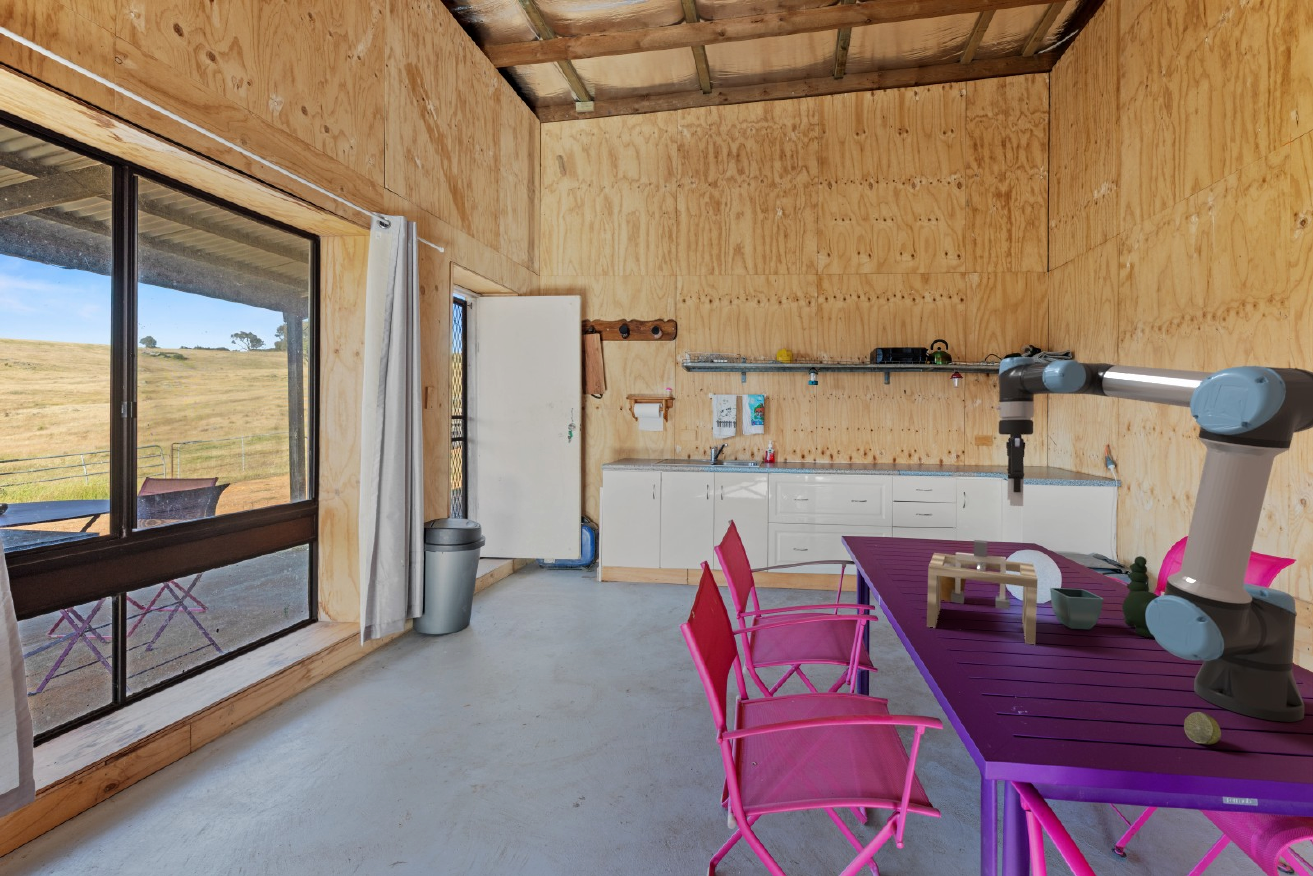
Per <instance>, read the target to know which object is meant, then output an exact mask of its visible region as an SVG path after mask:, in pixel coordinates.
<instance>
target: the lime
mask: <svg viewBox="0 0 1313 876" xmlns="http://www.w3.org/2000/svg"><path fill="white" fill-rule="evenodd" d="M1183 730H1184V732H1185V734H1186V736H1187V738H1188V739H1189V740H1190V741H1191V742H1194V744H1195V743H1196V744H1201V745H1213V744H1216V743H1218V741H1220V739H1221V737H1222V730H1221V728H1220V725H1219V723H1218V722H1217V721H1216V720H1215V718H1213V717H1212V716H1210V715H1209V714H1207V713H1206V712H1202V711H1196V712H1191V713H1190V714H1189V715H1187V717H1185V719H1184V724H1183Z"/></svg>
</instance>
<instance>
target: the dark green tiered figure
mask: <svg viewBox="0 0 1313 876" xmlns="http://www.w3.org/2000/svg"><path fill="white" fill-rule="evenodd" d="M1133 562H1134V563H1132V564H1130V565H1129V568H1130V571H1131V572H1129V573H1127V577H1128V579H1130V581H1129V583H1128V584H1127V585H1126V588H1127V589H1129V592H1128V594H1127V596H1126V597H1125V598H1124V600H1123V601H1122V602H1123V603H1122V607H1121V608H1122V613H1123V615H1124V618H1123V620H1124V623H1125V625H1127V626H1128V627H1134V631H1135V633H1136V634H1137V635H1138V636H1141V637H1143V636H1144V637H1143V638H1148V637H1149V638H1150V637H1151V638H1155V637H1154V636H1153V634H1151V633H1150V631H1149V629H1148V627H1147V623H1146V618H1145V614H1146V609H1147V606H1148V605H1149V603H1150V602H1151V601H1152V600H1154V599H1156V598H1158V597H1159V596H1160V595H1158V594H1156V593H1153V592H1151V591H1149V590H1150V588H1149V585H1148V584H1147V582H1148V581H1149V579H1150V578H1149V576H1148V574H1147V573H1148V567H1147V566H1146V565H1147V558H1146V557H1144V556H1141V555H1140V556H1139V555H1138V556H1137V557H1135V558H1134V561H1133Z"/></svg>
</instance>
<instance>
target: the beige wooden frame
mask: <svg viewBox="0 0 1313 876" xmlns="http://www.w3.org/2000/svg"><path fill="white" fill-rule="evenodd" d="M945 563H946V564H955V565H956V554H949V553H939V552H937V553H936V552H934V553H933V555H932V557H931V560H930V562H929V564H928V569H927V601H926V602H927V605H926V606H927V607H926V610H927V611H926V627H927V628H930V627H933V628H932V629H936V627H937V623H938V620H937V619H939V616H938V615H940V612H939V611H941V604H942V603H941V601H942V600H941V576H946V577H954V578H962V579H966V580H972V581H978V582H988V583H996V584H1000V583H1001V584H1005V585H1011V586H1018V587H1022V590H1023V591H1022V611H1021V612H1022V614H1021V616H1022V617H1021V618H1022V619H1021V623H1023V624H1022V630H1023V635H1024V636H1025V637H1024V636H1023V637H1024V643H1025V644H1026V643H1027V644H1026V645H1030V644H1034V645H1033V646H1036V632H1037V609H1038V608H1037V605H1038V602H1037V601H1038V581H1039V579H1038V577H1037V574H1036V573H1037V572H1036V569H1035V566H1034V564H1033V563H1029V562H1020V561H1011V560H1010V561H1009V560H1006V571H1007V572H1014V573H1015V572H1016V573H1020V574H1014V573H1007V572H1006V573H1000V564H995V563H986V562H976V561H966V560H961V565H963V566H969V567H973V568H976V569H973V568H968V569H966V568H958V567H949V566H944V564H945ZM986 569H992V570H997V571H990V570H986ZM998 570H999V572H998Z"/></svg>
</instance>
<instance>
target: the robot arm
mask: <svg viewBox="0 0 1313 876" xmlns="http://www.w3.org/2000/svg"><path fill="white" fill-rule="evenodd" d="M998 372H999V373H998V385H999V386H998V388H999V389H998V391H999V392H998V393H999V394H998V395H999V399H998V402H999V403H998V404H999V405H997V406H996V407H995V408H996V410H997V411H998V417H999V418H1001V419H1000V420H999V421H998V434H999V435H1009V437H1008V438H1007V441H1006V445H1005V447H1006V456H1007V457H1008V458H1007V468H1006V470H1007V500H1008V501H1009V506H1012V507H1015V506H1016V507H1024V476H1025V472H1024V471H1025V470H1024V469H1025V468H1024V467H1025V465H1024V457H1025V449H1026V441H1025V439H1024V438H1023V436H1024V435H1027V436H1028V435H1029V436H1031V435H1033V434H1034V421H1033V419H1032V418H1034V415H1035V405H1034V404H1035V402H1034V399H1035V397H1034V396H1035V395H1050V394H1051V395H1052V394H1060V395H1062V394H1063V395H1064V394H1065V395H1092V396H1102V397H1108V398H1109V397H1111V398H1118V399H1126V400H1132V401H1140V402H1148V403H1153V404H1159V405H1160V404H1162V405H1168V406H1169V405H1170V406H1177V407H1183V408H1189V409H1190V413H1191V416H1192V417H1193V418H1194V419H1195V422H1196V423H1197V424H1198V426H1200V429H1199V432H1198V440H1199V441H1200V442H1201V443H1202V444H1203V445H1204V446H1205V448H1206V453H1205V458H1204V463H1203V467H1202V470H1201V471H1202V472H1201V476H1200V481H1199V485H1198V490H1197V493H1196V499H1195V503H1194V509H1193V511H1192V512H1193V513H1192V517H1191V522H1190V526H1189V531H1188V536H1187V540H1186V544H1185V547H1184V553H1183V557H1182V563H1181V565H1180V570H1179V571H1177V572H1176V573H1173V574H1171V575H1169V576H1168V577H1167V580H1166V585H1165V589H1164V593H1163V594H1162V595H1158V596H1159V597H1158V598H1156V599H1154V600H1152V601H1151V602H1150V603H1149V605H1148V606H1147V609H1146V614H1145V618H1146V623H1147V627H1148V629H1149V631H1150V633H1151V634H1153V636H1154V637H1153V638H1155V641H1156V642H1157V643H1158V645H1159V646H1160V647H1161V648H1163V649H1164V650H1166V651H1167V652H1168V653H1169V654H1171V655H1174V656H1176V657H1179V658H1180V659H1184V660H1187V661H1188V660H1189V661H1203V663H1202V665H1201V666H1200V667H1199V671H1198V672H1197V674H1195V675H1196V676H1195V677H1194V684H1193V685H1194V688H1193V691H1194V693H1195V694H1196V695H1198V696H1199V697H1200V698H1201V699H1202V700H1204V701H1207V702H1209V703H1210V704H1213V705H1215V706H1217V707H1220V708H1222V709H1225V710H1228V711H1231V712H1234V713H1238V714H1240V715H1244V716H1248V717H1252V718H1257V719H1262V720H1268V721H1274V722H1284V723H1286V722H1292V723H1293V722H1299V721H1302V720H1303V719H1304V718H1305V704H1304V700H1303V698H1302V697H1303V696H1301V695H1302V694H1301V692H1300V690H1299V686H1298V685H1297V682H1296V680H1295V676H1294V674H1293V665H1294V664H1293V662H1294V651H1295V650H1294V647H1295V632H1296V631H1295V629H1296V617H1297V615H1298V613H1297V611H1296V600H1295V598H1294V596H1293V595H1291V594H1289V593H1288V592H1286V591H1282V590H1277V589H1276V588H1275V589H1274V588H1269V587H1266V586H1261V585H1257V584H1256V585H1255V584H1251V583H1246V582H1245V579H1246V574H1247V569H1248V567H1249V564H1250V563H1249V562H1250V557H1251V554H1252V550H1253V546H1254V541H1255V538H1256V533H1257V530H1258V525H1259V521H1260V517H1261V513H1262V509H1263V505H1264V501H1265V497H1266V493H1267V488H1268V485H1269V481H1270V476H1271V473H1272V468H1273V464H1274V461H1275V458H1276V457H1277V456H1279V455H1280V454H1282V453H1285V452H1286V451H1289V450H1290V449H1291V444H1292V440H1293V436H1294V433H1299V432H1304V431H1309V430H1310V429H1313V372H1312V371H1309V370H1306V369H1303V368H1295V367H1293V368H1292V367H1274V366H1272V367H1271V366H1269V367H1268V366H1260V365H1243V366H1235V367H1228V368H1224V369H1220V370H1218V371H1216V372H1208V371H1207V372H1206V371H1196V370H1187V369H1186V370H1184V369H1183V370H1182V369H1171V368H1160V367H1159V368H1157V367H1145V366H1134V365H1123V364H1122V365H1121V364H1120V365H1119V364H1118V365H1117V364H1111V363H1105V362H1098V363H1096V362H1095V363H1094V362H1091V363H1090V362H1089V363H1088V362H1084V363H1083V362H1079V361H1077V360H1075V359H1067V360H1066V359H1060V360H1059V359H1058V360H1055V361H1048V362H1040V363H1039V362H1038V363H1035V360H1034V358H1032V357H1029V356H1017V357H1007V358H1004V359H1002V360H1001V361H1000V363H999V371H998Z"/></svg>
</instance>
